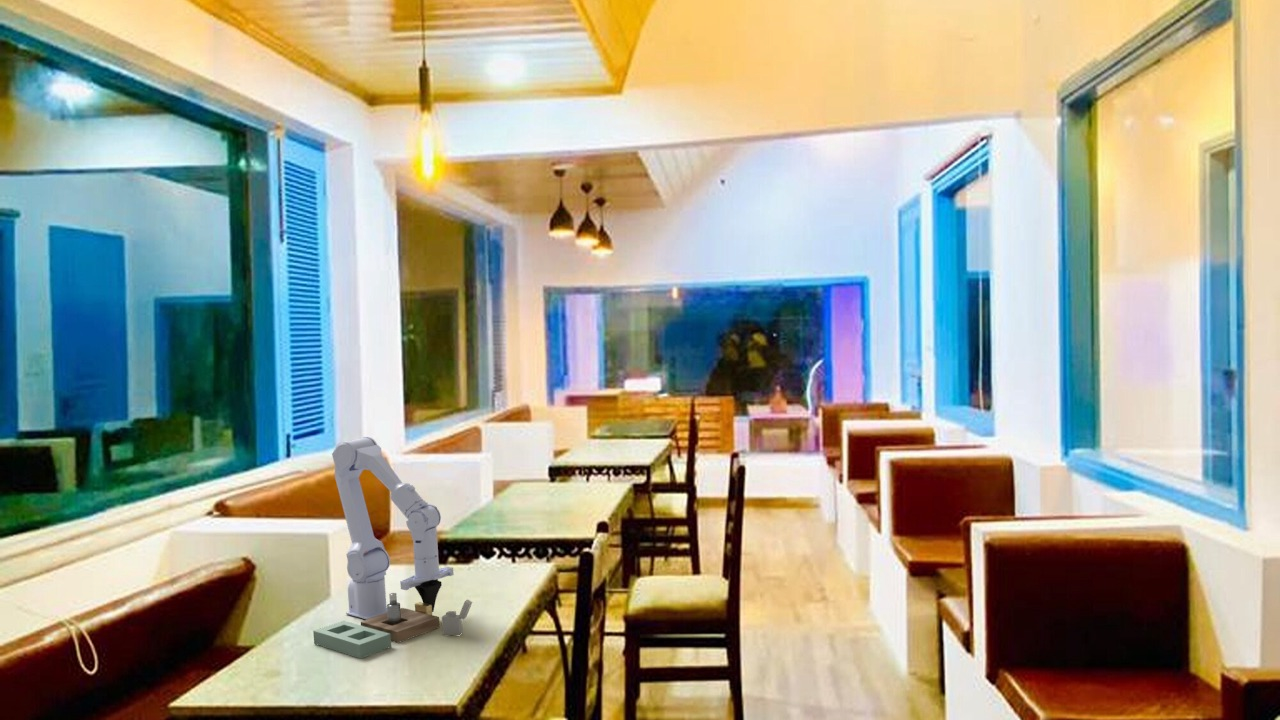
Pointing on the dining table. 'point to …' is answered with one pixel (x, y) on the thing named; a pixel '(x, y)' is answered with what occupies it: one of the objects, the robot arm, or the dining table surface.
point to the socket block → (404, 624)
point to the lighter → (455, 620)
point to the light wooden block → (423, 608)
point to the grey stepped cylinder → (393, 610)
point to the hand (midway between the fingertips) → (429, 611)
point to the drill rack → (352, 639)
